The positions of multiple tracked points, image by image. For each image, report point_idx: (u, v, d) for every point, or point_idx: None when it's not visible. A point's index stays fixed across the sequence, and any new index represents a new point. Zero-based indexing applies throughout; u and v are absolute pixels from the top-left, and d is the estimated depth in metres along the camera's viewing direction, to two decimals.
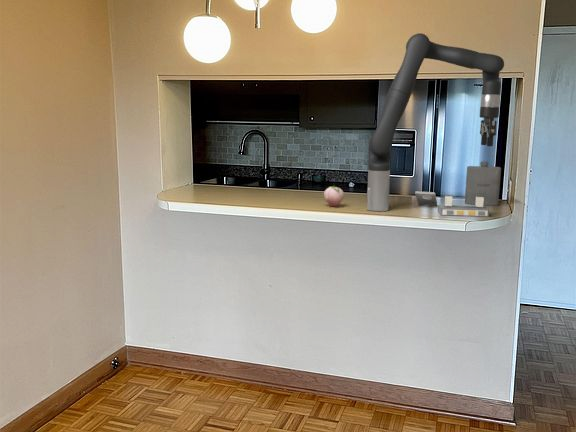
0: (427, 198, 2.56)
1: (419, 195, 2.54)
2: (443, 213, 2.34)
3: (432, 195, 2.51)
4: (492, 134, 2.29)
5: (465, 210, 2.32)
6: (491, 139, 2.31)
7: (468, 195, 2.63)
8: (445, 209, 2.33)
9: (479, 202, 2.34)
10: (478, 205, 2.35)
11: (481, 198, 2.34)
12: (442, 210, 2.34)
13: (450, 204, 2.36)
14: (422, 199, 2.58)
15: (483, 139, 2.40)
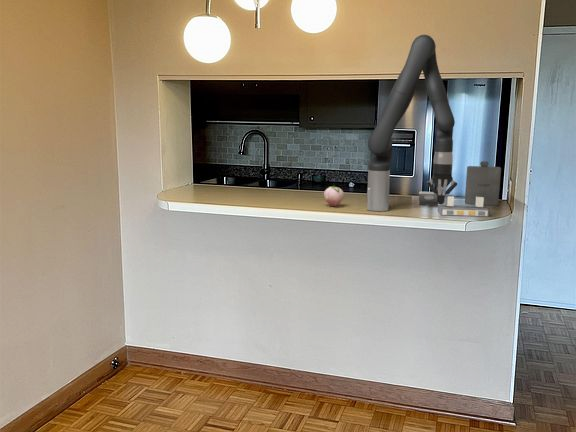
0: (429, 198, 2.57)
1: (422, 195, 2.53)
2: (443, 213, 2.34)
3: (435, 195, 2.51)
4: None
5: (465, 210, 2.32)
6: None
7: (468, 195, 2.63)
8: (445, 209, 2.33)
9: (479, 202, 2.34)
10: (478, 205, 2.35)
11: (481, 198, 2.34)
12: (442, 210, 2.34)
13: (452, 204, 2.36)
14: (424, 199, 2.58)
15: None
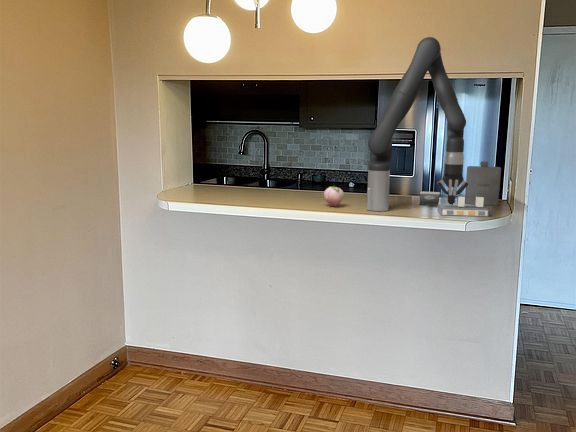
0: (429, 198, 2.57)
1: (422, 195, 2.53)
2: (443, 213, 2.34)
3: (436, 195, 2.51)
4: (459, 193, 2.36)
5: (465, 210, 2.32)
6: (454, 197, 2.37)
7: (468, 195, 2.63)
8: (445, 209, 2.33)
9: (479, 202, 2.34)
10: (478, 205, 2.35)
11: (481, 198, 2.34)
12: (442, 210, 2.34)
13: (462, 204, 2.35)
14: (424, 199, 2.58)
15: None
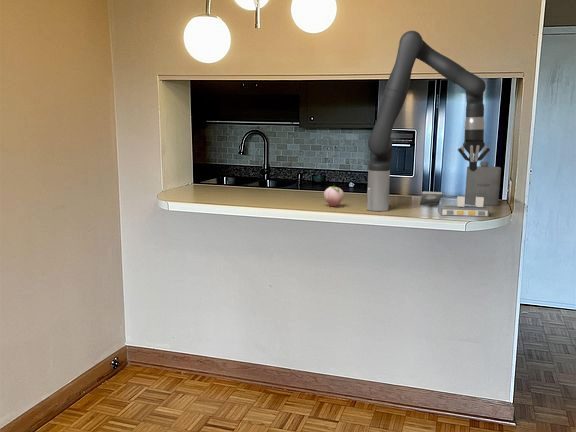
0: (430, 198, 2.57)
1: (424, 195, 2.53)
2: (443, 213, 2.34)
3: (437, 195, 2.52)
4: (480, 159, 2.33)
5: (465, 210, 2.32)
6: None
7: (468, 195, 2.63)
8: (445, 209, 2.33)
9: (479, 202, 2.34)
10: (478, 205, 2.35)
11: (481, 198, 2.34)
12: (442, 210, 2.34)
13: (462, 204, 2.35)
14: (425, 199, 2.58)
15: None
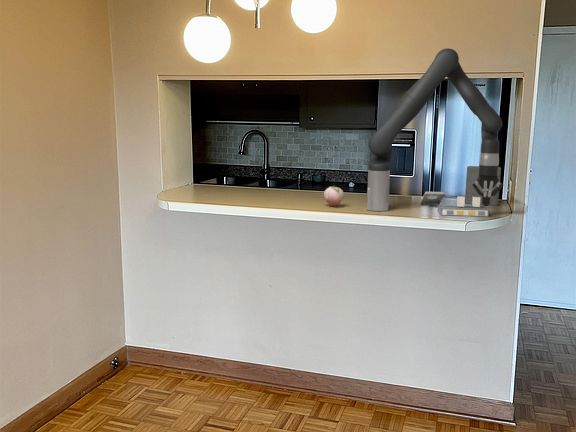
0: (431, 198, 2.57)
1: (426, 195, 2.53)
2: (443, 213, 2.34)
3: (439, 195, 2.52)
4: None
5: (465, 210, 2.32)
6: None
7: (468, 195, 2.63)
8: (445, 209, 2.33)
9: (476, 202, 2.35)
10: (475, 205, 2.35)
11: (478, 198, 2.34)
12: (442, 210, 2.34)
13: (462, 204, 2.35)
14: (426, 199, 2.58)
15: None
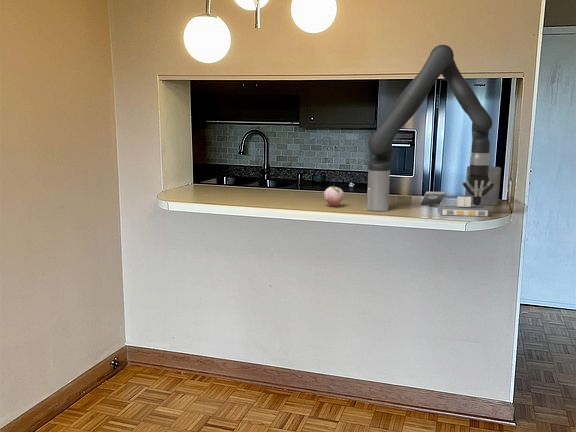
0: (432, 198, 2.57)
1: (426, 195, 2.53)
2: (443, 213, 2.34)
3: (440, 195, 2.52)
4: (484, 194, 2.35)
5: (465, 210, 2.32)
6: None
7: (468, 195, 2.63)
8: (445, 209, 2.33)
9: (467, 202, 2.35)
10: (466, 205, 2.35)
11: (469, 198, 2.35)
12: (442, 210, 2.34)
13: (462, 204, 2.35)
14: (426, 199, 2.58)
15: None
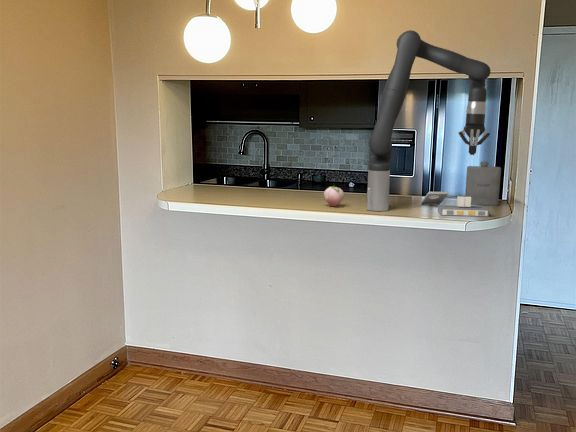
0: (432, 198, 2.58)
1: (428, 195, 2.54)
2: (443, 213, 2.34)
3: (441, 194, 2.53)
4: None
5: (465, 210, 2.32)
6: (475, 148, 2.38)
7: (468, 195, 2.63)
8: (445, 209, 2.33)
9: (467, 202, 2.35)
10: (466, 205, 2.35)
11: (469, 198, 2.35)
12: (442, 210, 2.34)
13: (462, 204, 2.35)
14: (427, 199, 2.58)
15: None
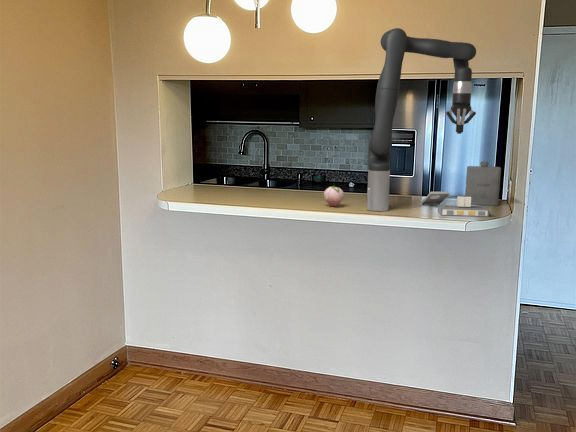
0: (433, 198, 2.58)
1: (429, 195, 2.54)
2: (443, 213, 2.34)
3: (443, 194, 2.53)
4: None
5: (465, 210, 2.32)
6: (462, 127, 2.44)
7: (468, 195, 2.63)
8: (445, 209, 2.33)
9: (467, 202, 2.35)
10: (466, 205, 2.35)
11: (469, 198, 2.35)
12: (442, 210, 2.34)
13: (462, 204, 2.35)
14: (428, 199, 2.58)
15: None
